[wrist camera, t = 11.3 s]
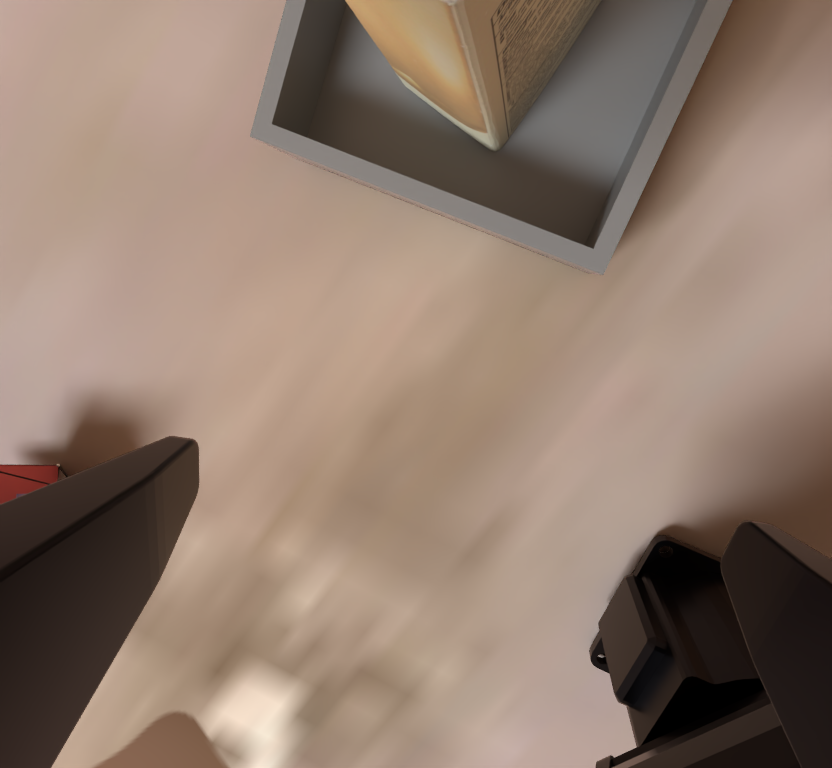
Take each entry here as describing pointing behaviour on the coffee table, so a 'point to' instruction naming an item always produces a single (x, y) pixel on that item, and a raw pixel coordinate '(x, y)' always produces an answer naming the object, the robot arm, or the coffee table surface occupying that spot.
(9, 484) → the geometric puzzle
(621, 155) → the tray
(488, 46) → the skincare box
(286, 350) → the coffee table surface
